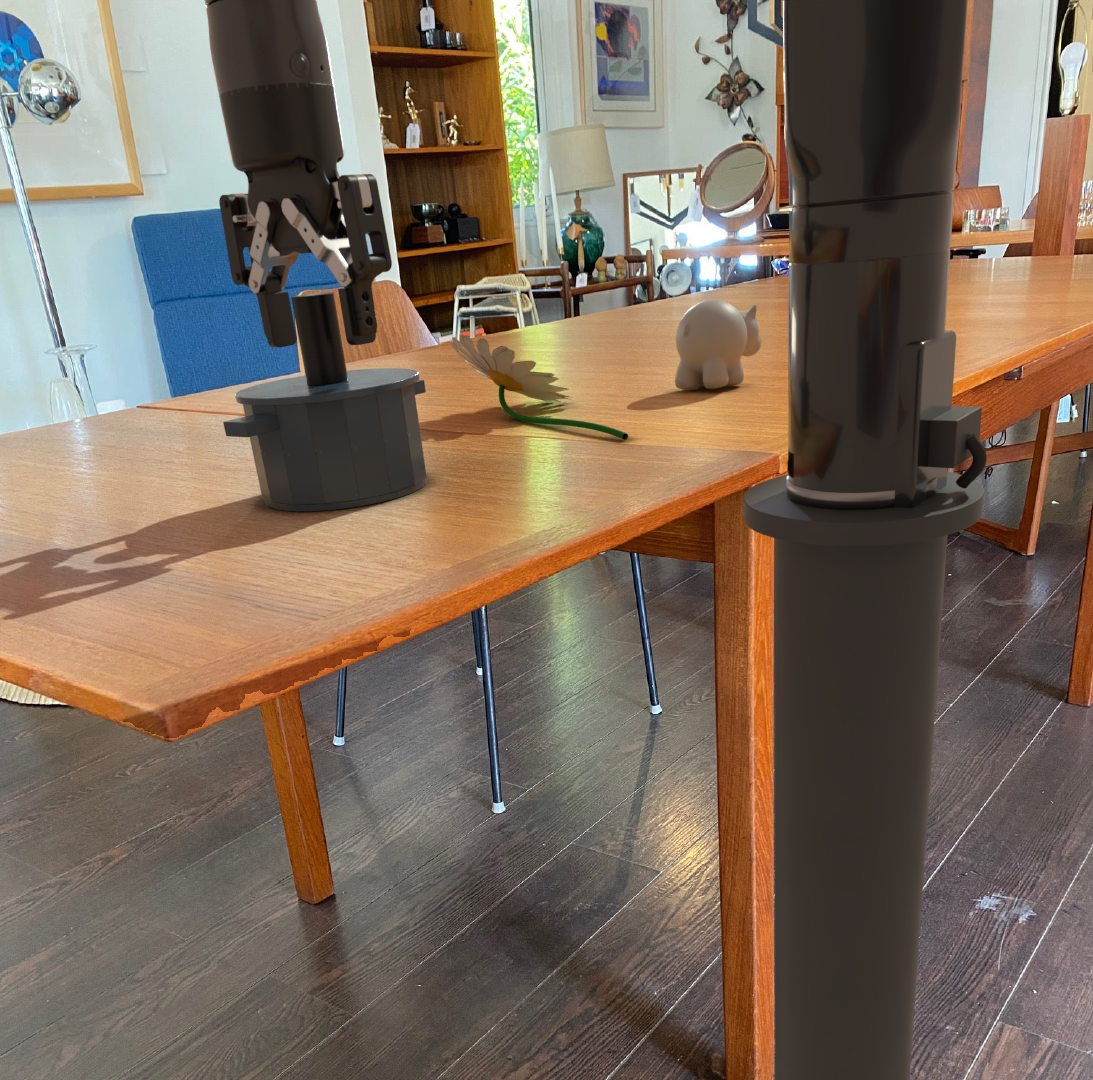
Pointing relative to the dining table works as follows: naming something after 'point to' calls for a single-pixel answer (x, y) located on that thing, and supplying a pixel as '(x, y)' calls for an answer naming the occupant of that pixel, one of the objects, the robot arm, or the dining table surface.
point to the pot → (336, 450)
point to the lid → (323, 363)
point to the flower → (520, 381)
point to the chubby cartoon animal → (715, 344)
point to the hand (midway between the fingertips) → (321, 345)
